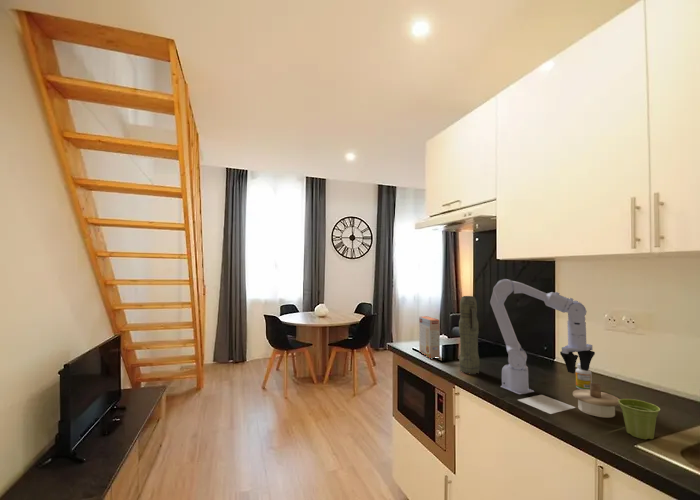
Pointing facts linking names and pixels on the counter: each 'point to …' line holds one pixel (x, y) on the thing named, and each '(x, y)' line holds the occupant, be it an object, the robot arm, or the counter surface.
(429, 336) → the cracker box
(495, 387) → the counter surface
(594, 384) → the lid
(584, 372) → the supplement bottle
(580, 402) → the bowl
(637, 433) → the plant pot
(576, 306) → the robot arm
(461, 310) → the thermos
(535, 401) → the mat
